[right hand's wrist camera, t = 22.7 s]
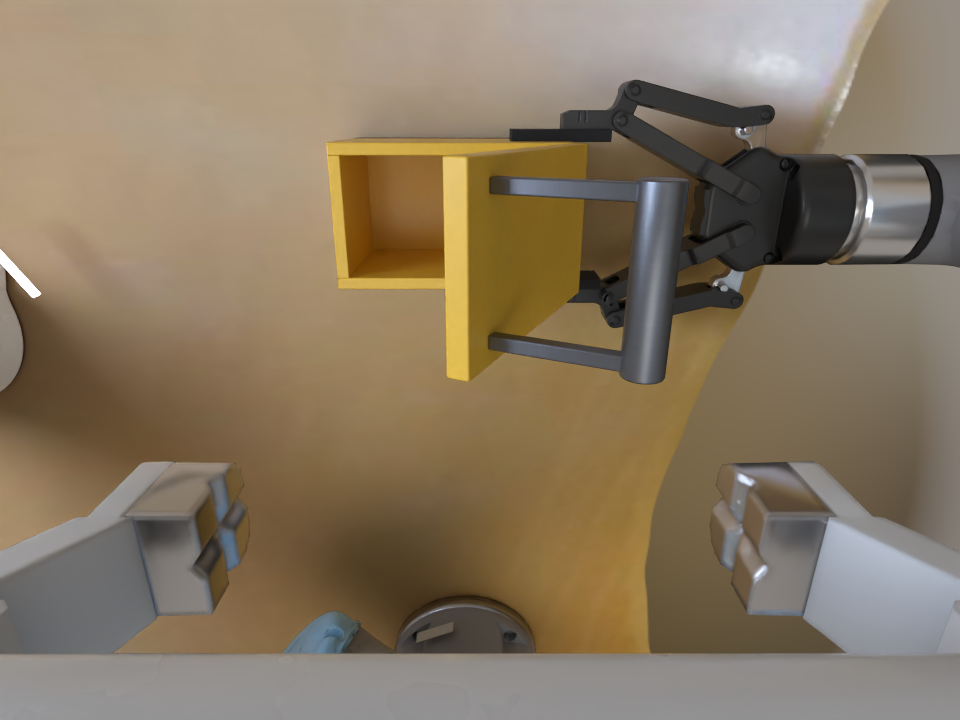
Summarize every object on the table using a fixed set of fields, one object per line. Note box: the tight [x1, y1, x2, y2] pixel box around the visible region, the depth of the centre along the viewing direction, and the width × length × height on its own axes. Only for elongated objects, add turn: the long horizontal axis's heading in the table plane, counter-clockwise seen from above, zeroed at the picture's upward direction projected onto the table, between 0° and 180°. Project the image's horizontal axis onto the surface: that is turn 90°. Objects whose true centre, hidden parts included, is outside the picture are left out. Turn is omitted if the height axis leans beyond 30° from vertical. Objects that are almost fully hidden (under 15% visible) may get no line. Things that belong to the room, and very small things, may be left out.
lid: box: [443, 143, 689, 384], centre depth 30 cm, size 16×9×9 cm
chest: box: [326, 138, 575, 289], centre depth 44 cm, size 15×9×11 cm, turn 90°
